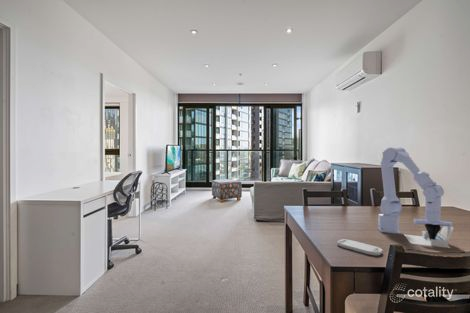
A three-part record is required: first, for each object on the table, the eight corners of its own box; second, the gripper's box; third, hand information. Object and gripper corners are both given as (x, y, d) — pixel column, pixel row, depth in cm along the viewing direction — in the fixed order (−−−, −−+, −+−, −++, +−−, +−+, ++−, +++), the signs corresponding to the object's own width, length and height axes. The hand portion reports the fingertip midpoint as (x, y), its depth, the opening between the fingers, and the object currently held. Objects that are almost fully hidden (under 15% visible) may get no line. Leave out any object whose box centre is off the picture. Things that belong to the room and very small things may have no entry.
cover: (452, 227, 118) (454, 228, 118) (445, 222, 127) (446, 223, 127) (447, 239, 119) (449, 239, 119) (439, 233, 128) (441, 234, 127)
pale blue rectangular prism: (436, 244, 122) (437, 240, 122) (431, 239, 128) (431, 236, 128) (442, 245, 121) (442, 241, 121) (437, 240, 128) (437, 236, 128)
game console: (385, 247, 113) (377, 252, 108) (385, 253, 113) (377, 258, 108) (343, 237, 126) (334, 241, 121) (343, 242, 126) (334, 246, 121)
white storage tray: (410, 244, 123) (411, 237, 123) (403, 235, 136) (403, 229, 136) (450, 248, 118) (451, 241, 118) (439, 238, 131) (439, 232, 131)
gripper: (416, 211, 123) (416, 241, 124) (455, 214, 118) (454, 245, 119) (412, 208, 130) (412, 236, 130) (449, 211, 125) (448, 240, 125)
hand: (432, 240), depth 125 cm, fingers closed
